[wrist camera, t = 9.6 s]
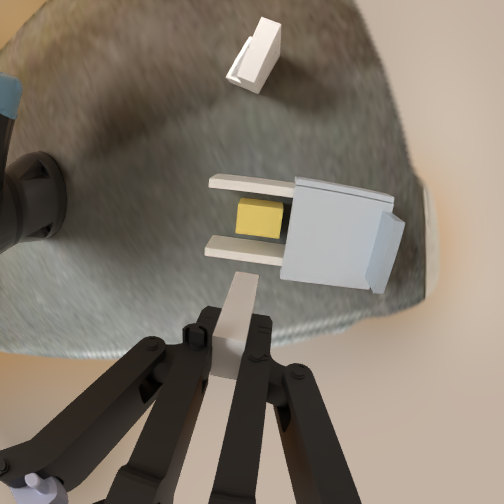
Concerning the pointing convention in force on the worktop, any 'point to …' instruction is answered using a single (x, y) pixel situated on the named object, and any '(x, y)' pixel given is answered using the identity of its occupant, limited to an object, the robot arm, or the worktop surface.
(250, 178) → the long white channel rail
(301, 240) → the cover
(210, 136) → the worktop surface
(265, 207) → the mustard yellow cuboid
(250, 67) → the white angled block
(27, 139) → the worktop surface
